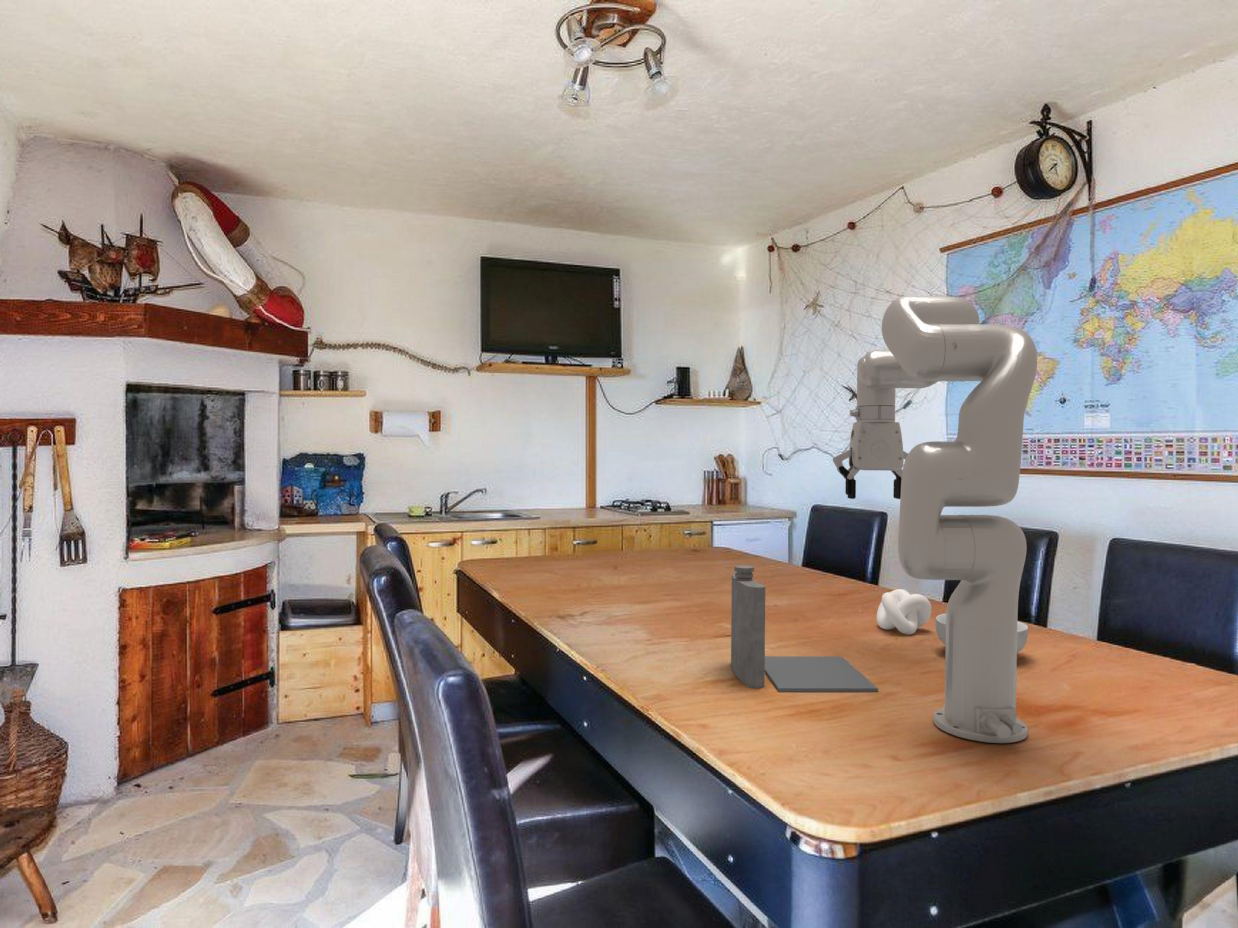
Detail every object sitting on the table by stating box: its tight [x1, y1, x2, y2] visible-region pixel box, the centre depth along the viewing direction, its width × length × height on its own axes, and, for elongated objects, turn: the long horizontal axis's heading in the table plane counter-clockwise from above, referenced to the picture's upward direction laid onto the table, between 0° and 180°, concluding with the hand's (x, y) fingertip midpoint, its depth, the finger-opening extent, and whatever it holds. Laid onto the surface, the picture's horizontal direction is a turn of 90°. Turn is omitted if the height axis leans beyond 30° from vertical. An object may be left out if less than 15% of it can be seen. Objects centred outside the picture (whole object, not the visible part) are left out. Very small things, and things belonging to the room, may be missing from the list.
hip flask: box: [730, 564, 766, 689], centre depth 139 cm, size 16×4×20 cm, turn 3°
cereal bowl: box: [935, 613, 1029, 654], centre depth 153 cm, size 17×17×7 cm
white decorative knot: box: [875, 588, 932, 636], centre depth 174 cm, size 11×12×9 cm
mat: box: [765, 655, 879, 693], centre depth 139 cm, size 20×17×1 cm
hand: (874, 498), depth 157 cm, fingers open, 9 cm apart
